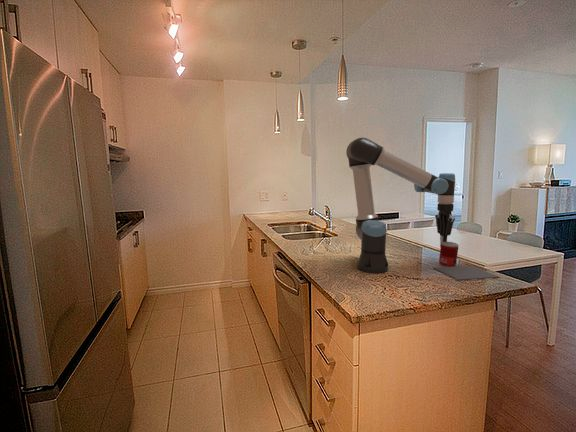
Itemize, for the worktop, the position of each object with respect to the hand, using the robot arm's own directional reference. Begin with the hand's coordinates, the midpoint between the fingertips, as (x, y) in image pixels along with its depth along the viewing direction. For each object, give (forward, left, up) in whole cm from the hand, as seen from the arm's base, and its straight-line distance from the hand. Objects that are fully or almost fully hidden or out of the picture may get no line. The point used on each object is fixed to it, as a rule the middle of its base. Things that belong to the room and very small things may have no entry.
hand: (443, 247), depth 170 cm
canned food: (0, -5, -8) cm, 9 cm away
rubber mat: (-1, -19, -8) cm, 21 cm away
